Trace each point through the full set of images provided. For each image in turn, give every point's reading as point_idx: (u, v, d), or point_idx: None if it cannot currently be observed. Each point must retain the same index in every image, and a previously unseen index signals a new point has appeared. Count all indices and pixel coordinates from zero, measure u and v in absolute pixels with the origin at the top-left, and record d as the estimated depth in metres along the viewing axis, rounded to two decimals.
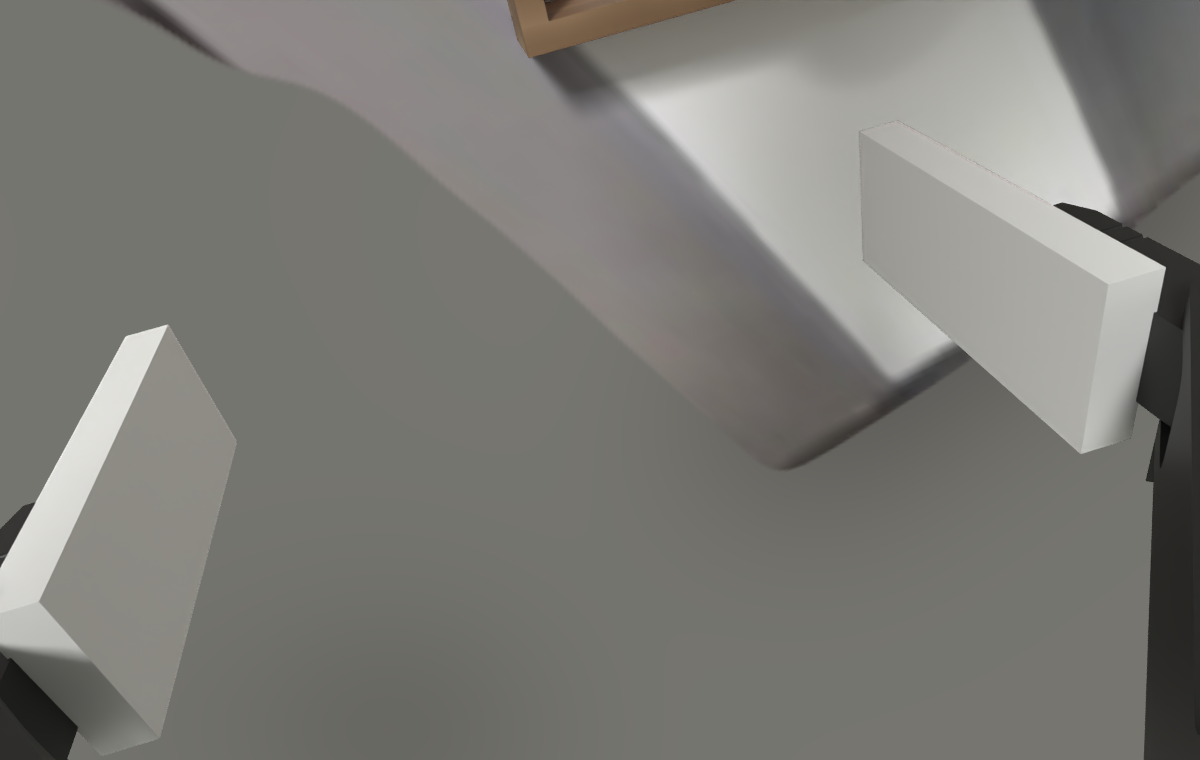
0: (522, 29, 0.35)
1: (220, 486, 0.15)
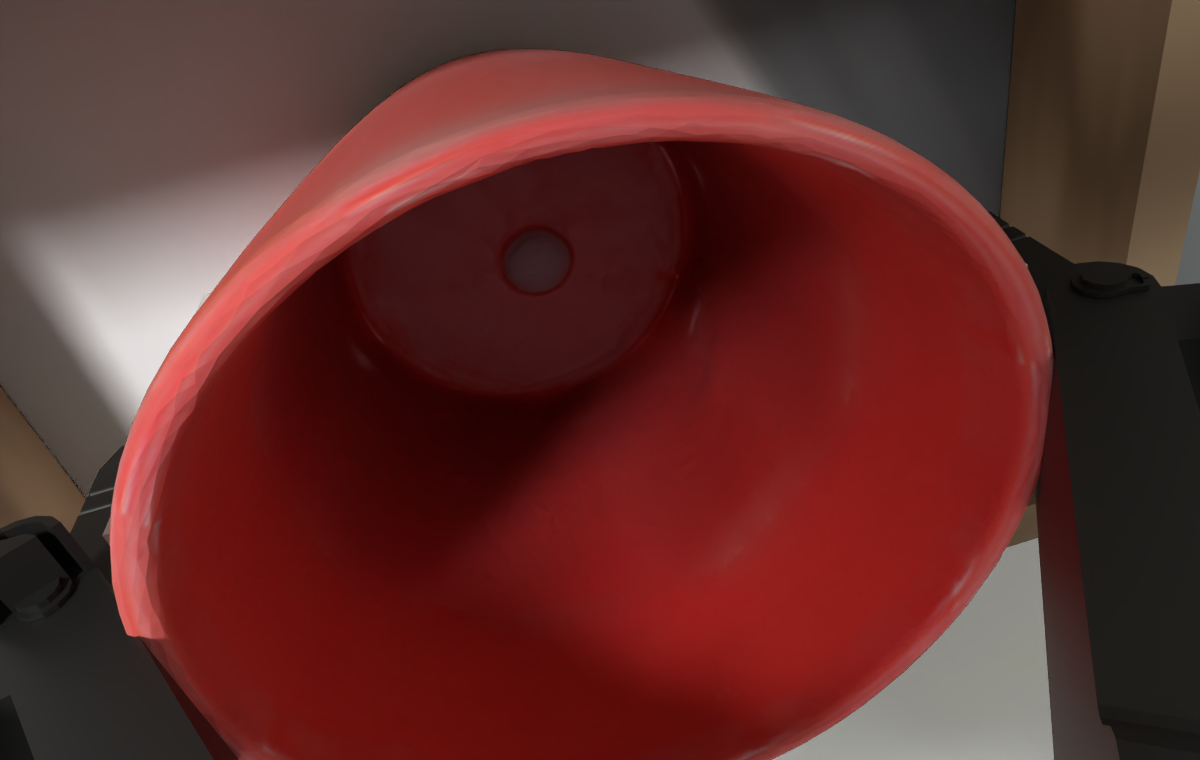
0: None
1: None
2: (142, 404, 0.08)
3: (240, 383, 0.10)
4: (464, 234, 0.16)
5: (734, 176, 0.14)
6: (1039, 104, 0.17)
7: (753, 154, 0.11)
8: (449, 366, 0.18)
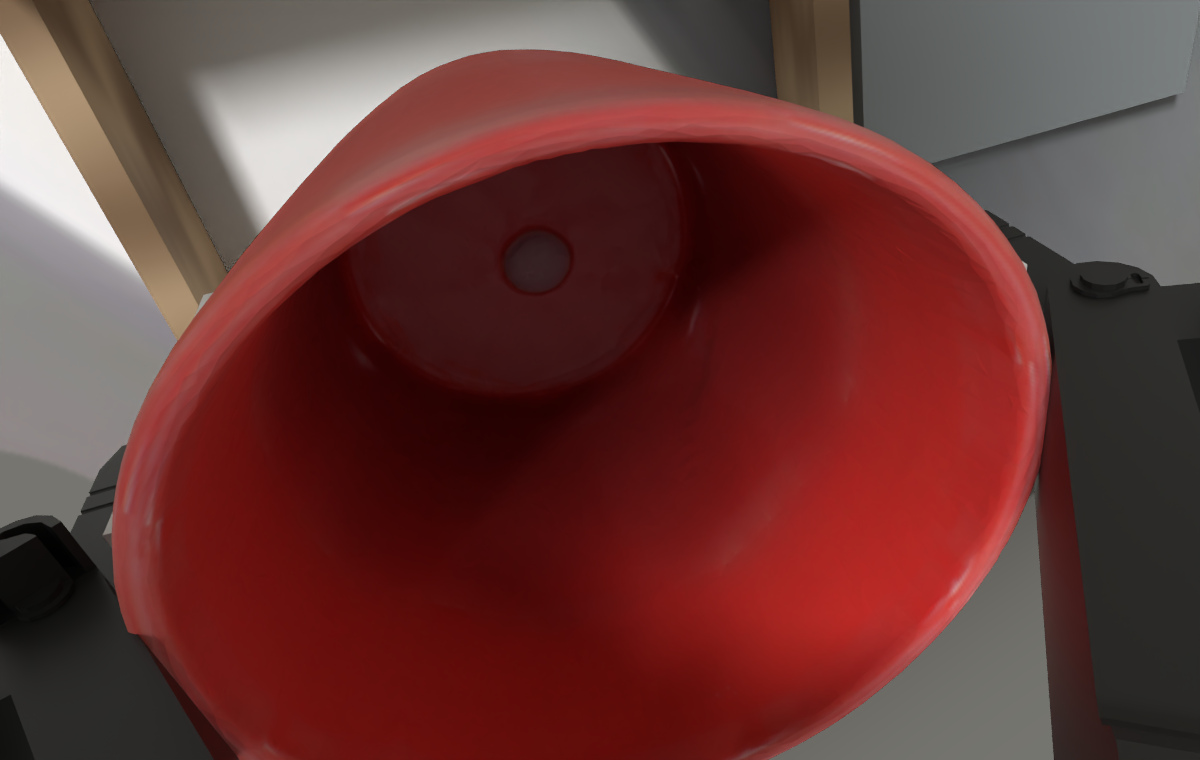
0: None
1: None
2: (144, 403, 0.08)
3: (241, 383, 0.10)
4: (464, 235, 0.16)
5: (733, 176, 0.14)
6: (780, 12, 0.30)
7: (752, 154, 0.11)
8: (449, 366, 0.18)
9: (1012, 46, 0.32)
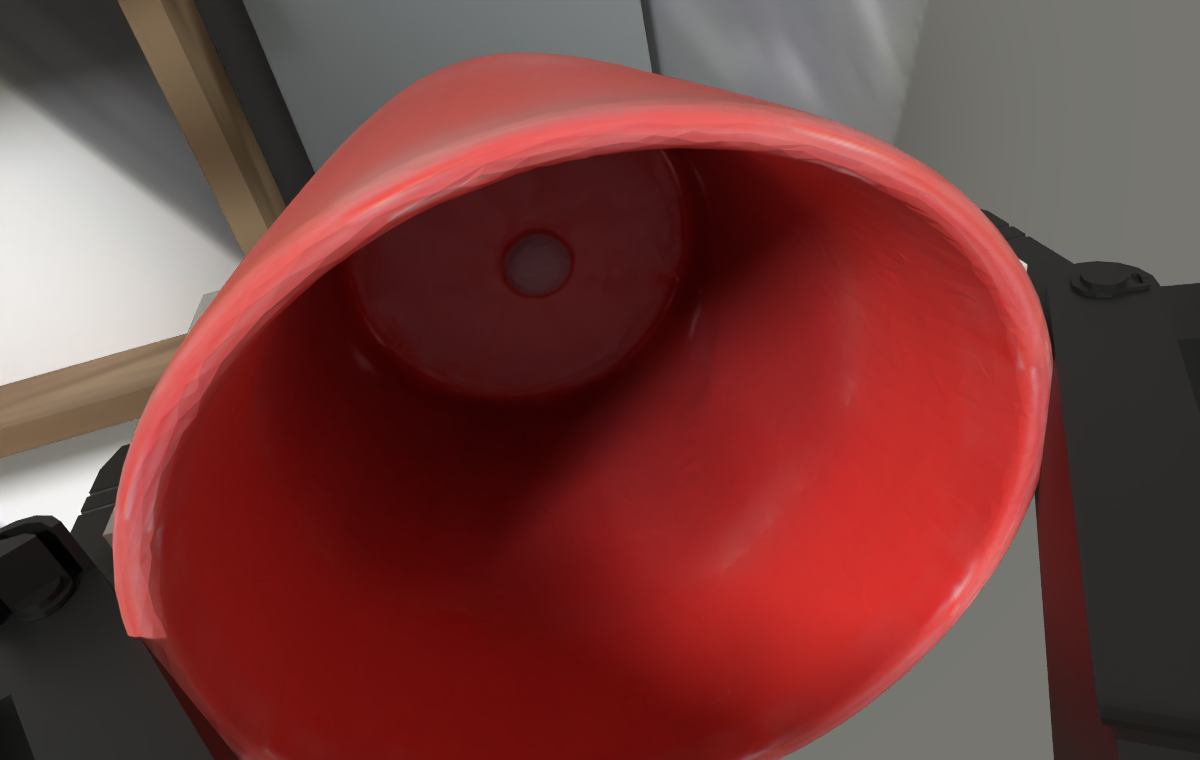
0: None
1: None
2: (145, 410, 0.08)
3: (242, 387, 0.10)
4: (465, 238, 0.16)
5: (735, 180, 0.14)
6: None
7: (754, 159, 0.11)
8: (450, 369, 0.18)
9: None
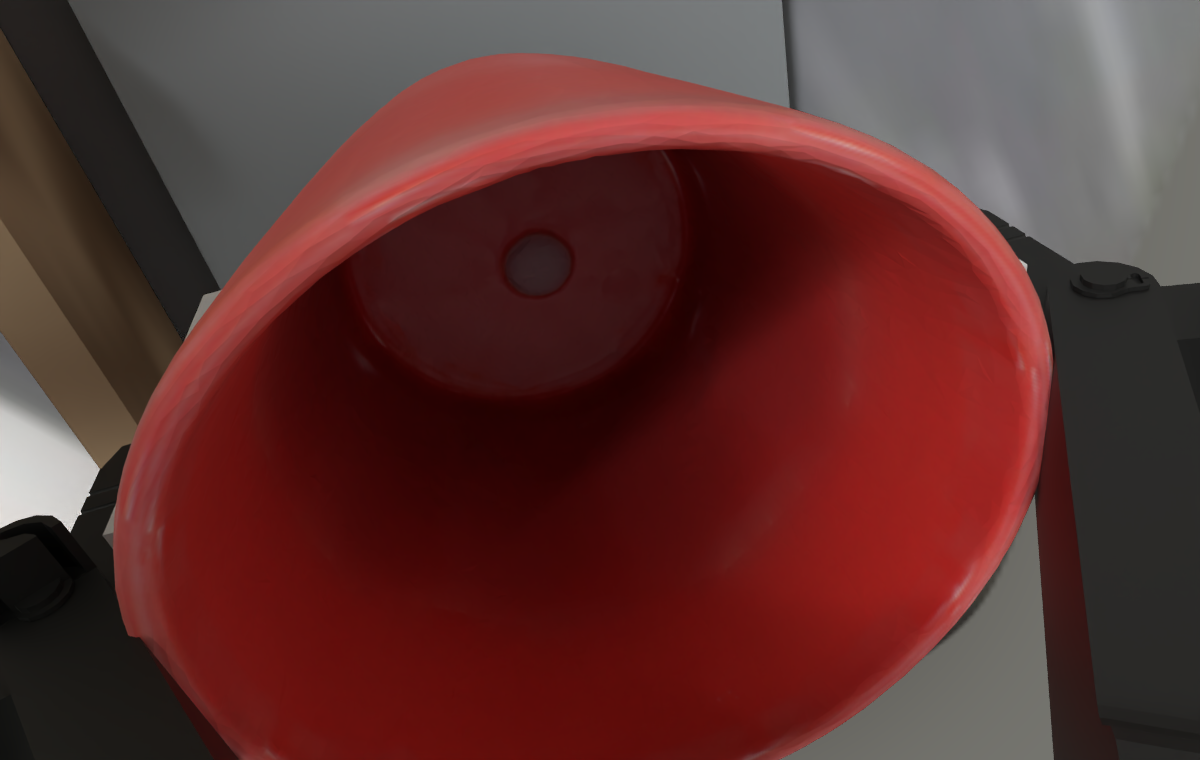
0: None
1: None
2: (145, 411, 0.08)
3: (242, 388, 0.10)
4: (465, 238, 0.16)
5: (735, 180, 0.14)
6: None
7: (754, 159, 0.11)
8: (450, 369, 0.18)
9: None
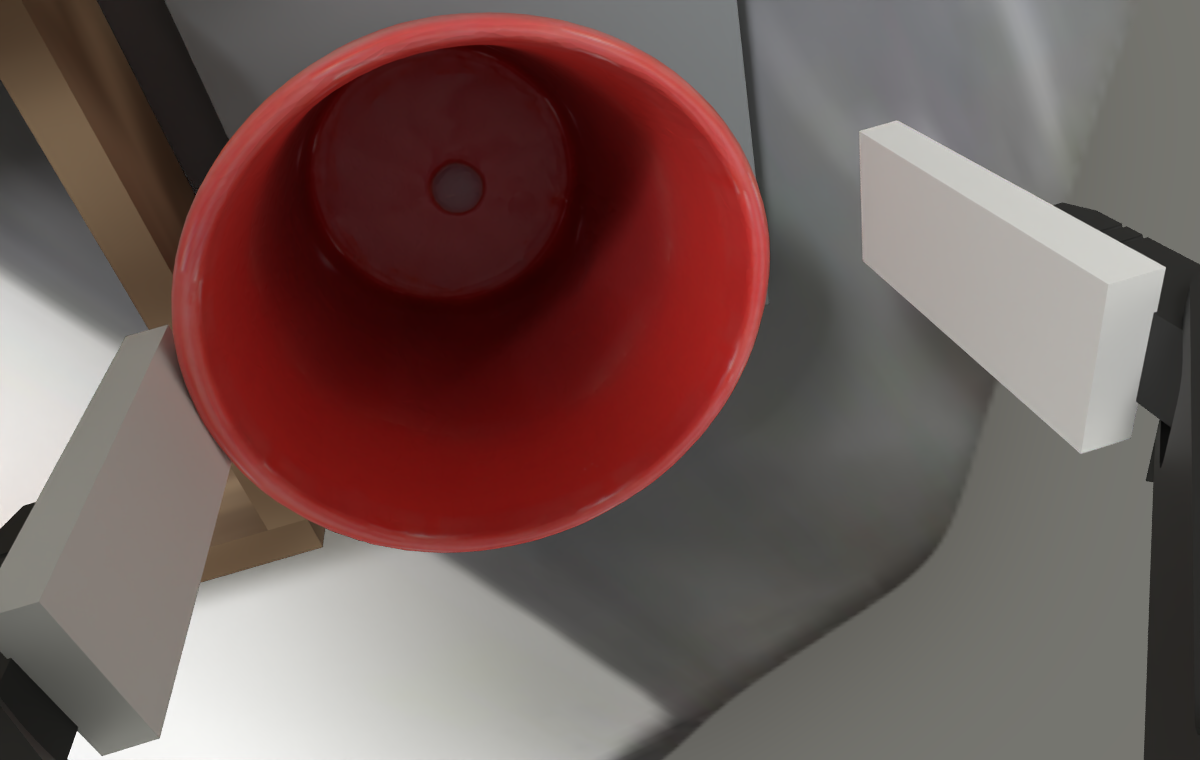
0: None
1: (220, 486, 0.15)
2: (194, 199, 0.13)
3: (244, 224, 0.16)
4: (401, 167, 0.22)
5: (589, 109, 0.20)
6: None
7: (582, 79, 0.17)
8: (394, 273, 0.24)
9: None
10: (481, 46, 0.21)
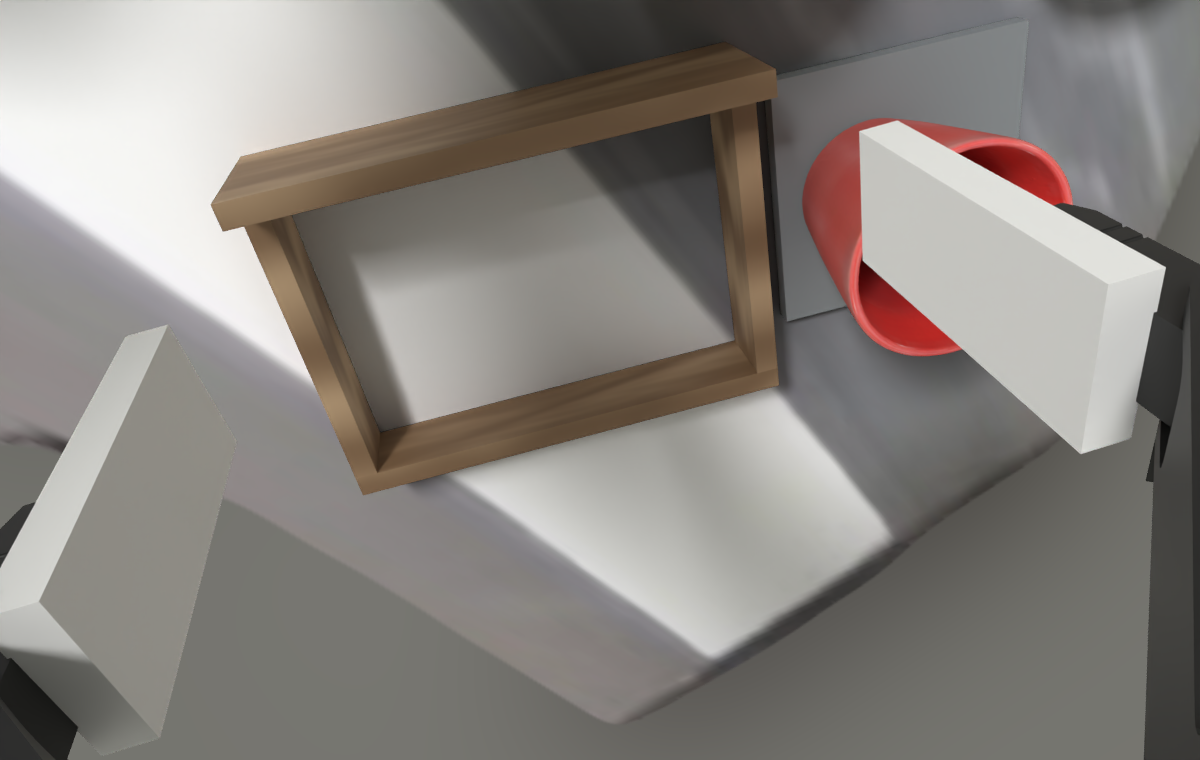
0: (356, 478, 0.46)
1: (220, 486, 0.15)
2: None
3: None
4: None
5: None
6: (726, 220, 0.46)
7: (987, 153, 0.40)
8: None
9: None
10: None
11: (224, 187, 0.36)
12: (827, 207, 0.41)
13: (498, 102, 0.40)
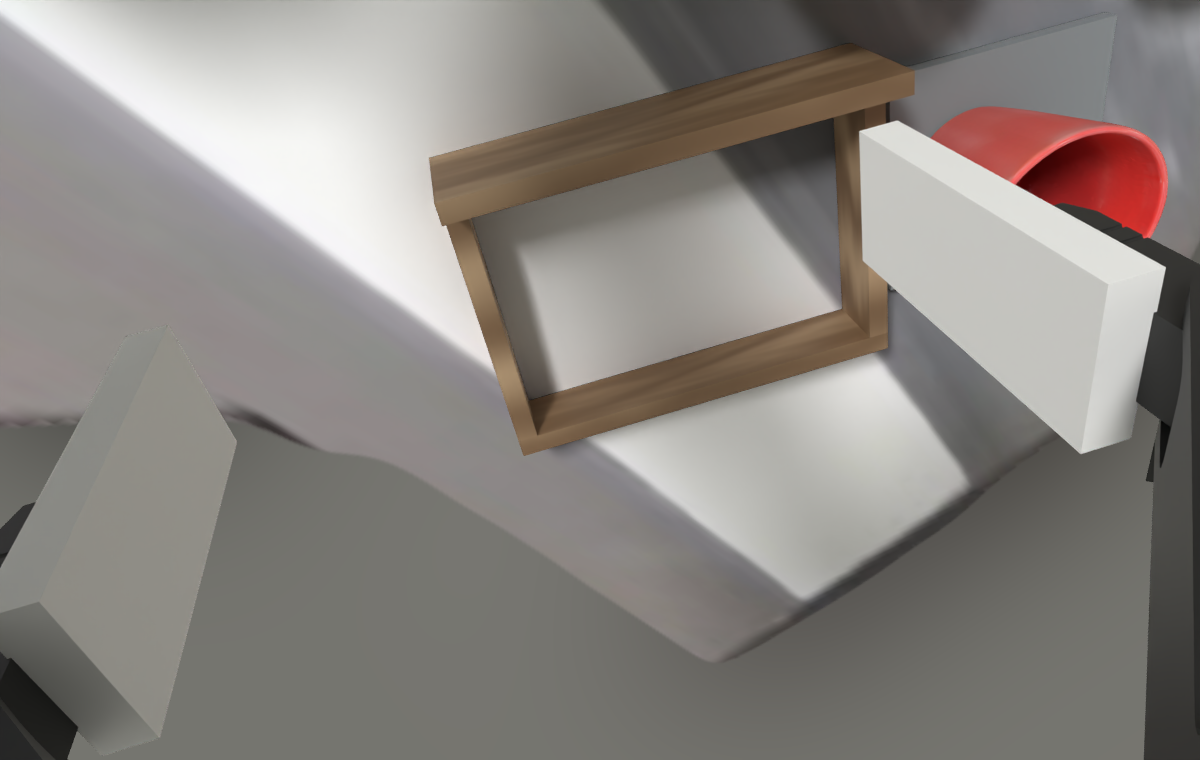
0: (519, 441, 0.52)
1: (220, 486, 0.15)
2: None
3: None
4: None
5: None
6: (844, 201, 0.51)
7: (1088, 137, 0.45)
8: None
9: None
10: None
11: (435, 187, 0.42)
12: None
13: (657, 103, 0.45)
